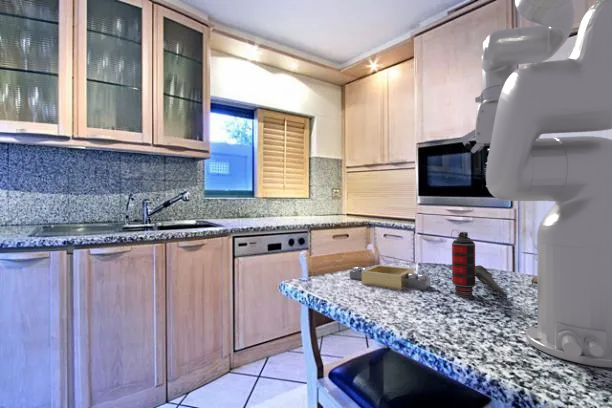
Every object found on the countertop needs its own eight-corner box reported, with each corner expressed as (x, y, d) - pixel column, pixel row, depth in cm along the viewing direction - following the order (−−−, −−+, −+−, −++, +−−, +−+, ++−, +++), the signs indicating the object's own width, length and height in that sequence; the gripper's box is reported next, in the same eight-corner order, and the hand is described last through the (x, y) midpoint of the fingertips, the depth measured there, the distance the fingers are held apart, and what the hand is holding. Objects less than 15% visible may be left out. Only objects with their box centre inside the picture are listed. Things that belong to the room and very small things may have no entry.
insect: (521, 286, 85) (521, 274, 85) (544, 282, 88) (544, 271, 88) (545, 291, 79) (545, 279, 80) (569, 287, 83) (568, 276, 83)
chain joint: (422, 293, 77) (422, 278, 77) (344, 282, 89) (344, 269, 89) (433, 284, 86) (433, 271, 86) (361, 275, 98) (361, 263, 98)
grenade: (443, 291, 79) (442, 229, 79) (460, 290, 80) (459, 228, 80) (462, 298, 73) (461, 231, 73) (480, 297, 74) (479, 230, 74)
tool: (503, 303, 71) (513, 293, 70) (472, 279, 73) (482, 269, 72) (484, 280, 91) (492, 272, 90) (460, 262, 93) (468, 254, 92)
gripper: (457, 100, 82) (458, 168, 82) (542, 85, 72) (543, 162, 72) (464, 108, 88) (464, 171, 88) (543, 94, 78) (544, 166, 78)
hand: (500, 167), depth 80 cm, fingers open, 9 cm apart
